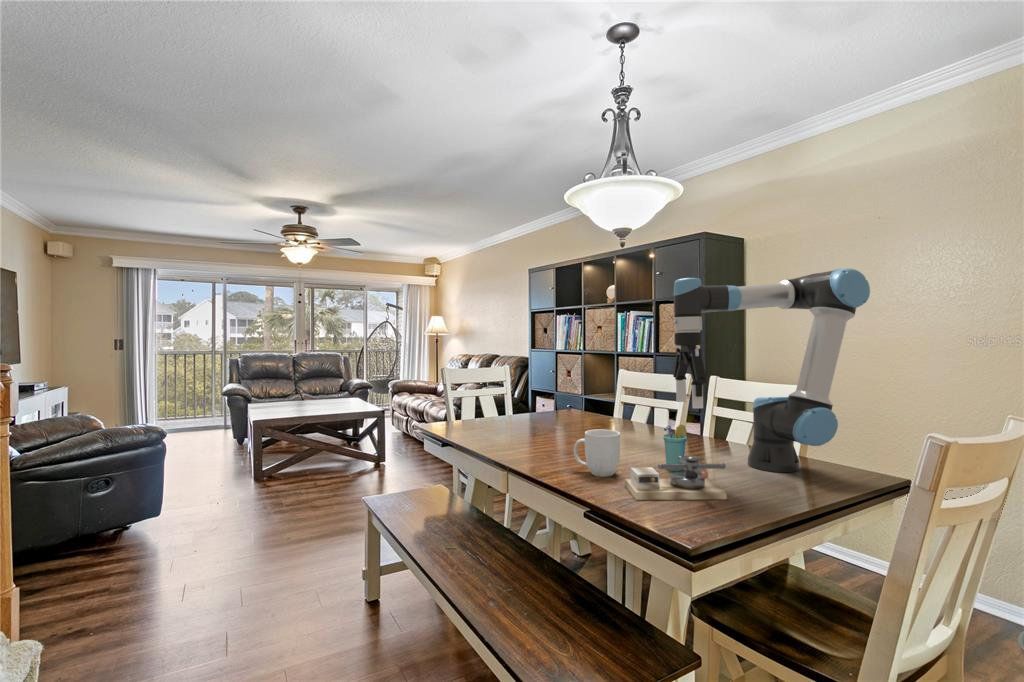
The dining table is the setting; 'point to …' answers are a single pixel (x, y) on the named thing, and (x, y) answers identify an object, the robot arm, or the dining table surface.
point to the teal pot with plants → (675, 445)
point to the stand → (667, 487)
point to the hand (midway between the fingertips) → (689, 404)
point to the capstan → (690, 472)
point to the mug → (600, 451)
